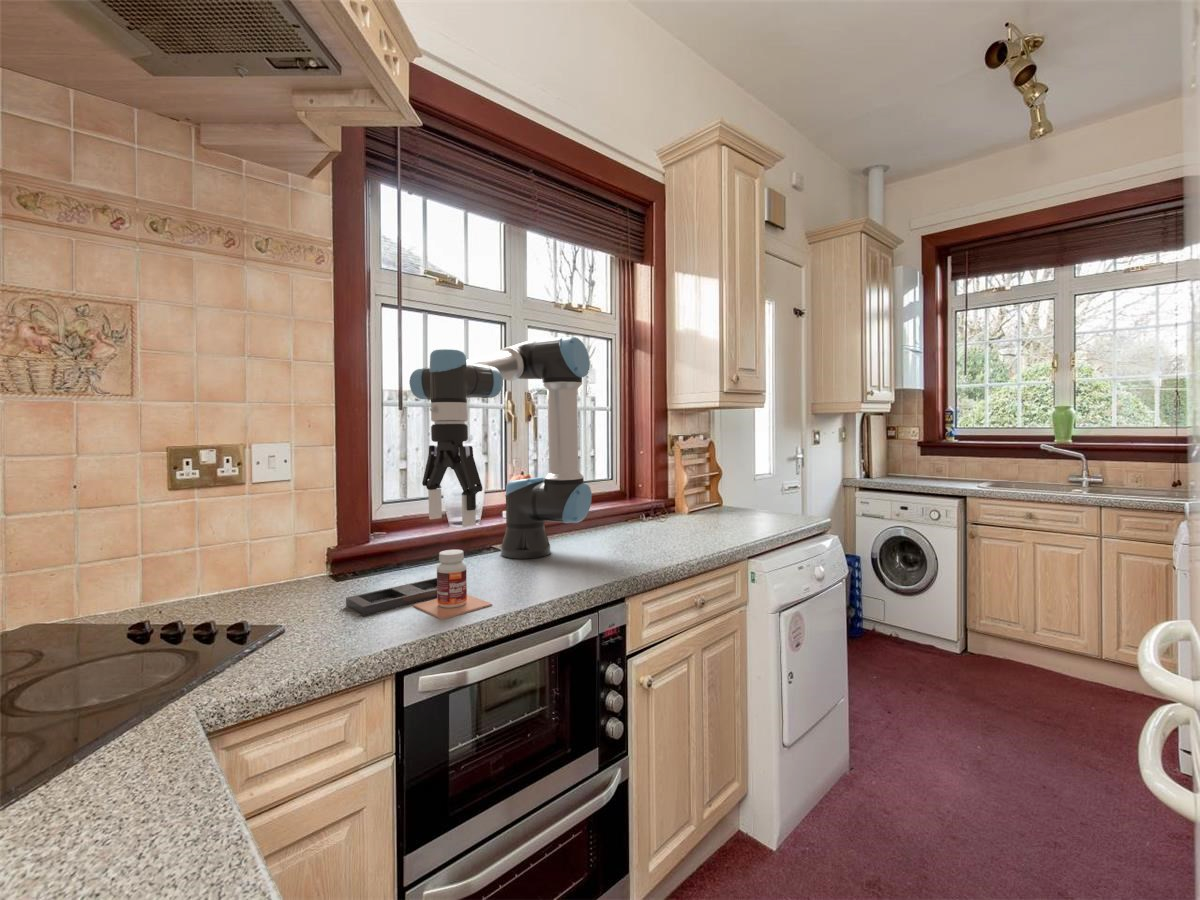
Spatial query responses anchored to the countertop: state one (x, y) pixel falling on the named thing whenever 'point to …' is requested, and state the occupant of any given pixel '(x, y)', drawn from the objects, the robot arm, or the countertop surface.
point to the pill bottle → (451, 579)
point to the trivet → (443, 613)
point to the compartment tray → (401, 596)
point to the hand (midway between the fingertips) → (451, 522)
